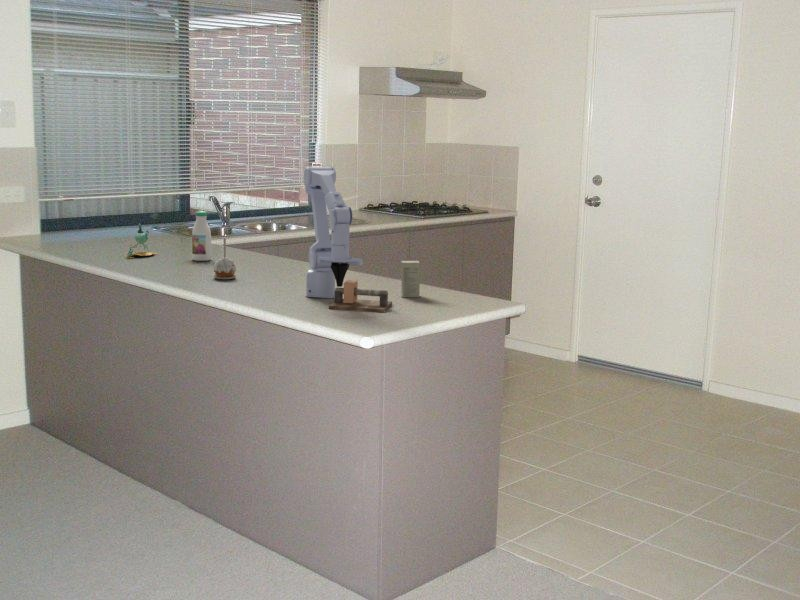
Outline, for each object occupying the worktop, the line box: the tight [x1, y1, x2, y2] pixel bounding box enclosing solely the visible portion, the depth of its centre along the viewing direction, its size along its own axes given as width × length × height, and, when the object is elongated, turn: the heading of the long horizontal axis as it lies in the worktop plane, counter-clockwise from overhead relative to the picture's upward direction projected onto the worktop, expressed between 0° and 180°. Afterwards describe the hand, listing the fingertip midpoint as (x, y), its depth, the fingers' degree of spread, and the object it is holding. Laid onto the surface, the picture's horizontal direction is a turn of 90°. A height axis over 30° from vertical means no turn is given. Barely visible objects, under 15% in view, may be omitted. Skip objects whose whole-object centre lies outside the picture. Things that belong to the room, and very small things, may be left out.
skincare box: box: [401, 260, 421, 298], centre depth 322 cm, size 6×4×12 cm
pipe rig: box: [328, 287, 393, 313], centre depth 303 cm, size 18×13×6 cm
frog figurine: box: [125, 223, 157, 260], centre depth 393 cm, size 10×18×15 cm, turn 144°
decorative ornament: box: [213, 237, 237, 281], centre depth 346 cm, size 8×8×15 cm
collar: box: [343, 279, 359, 303], centre depth 303 cm, size 3×6×6 cm, turn 169°
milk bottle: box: [191, 210, 212, 262], centre depth 387 cm, size 8×8×20 cm
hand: (339, 286), depth 303 cm, fingers closed
